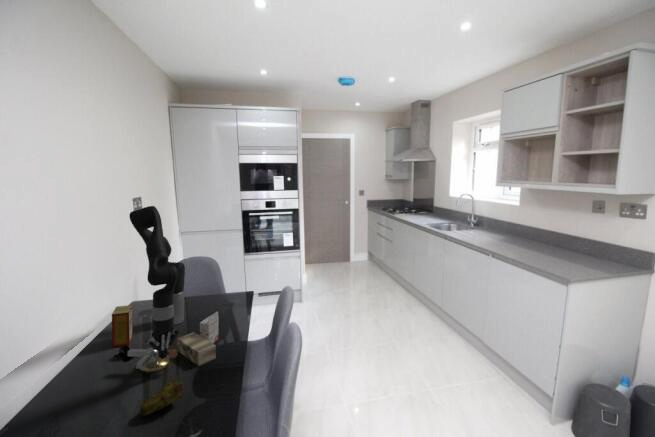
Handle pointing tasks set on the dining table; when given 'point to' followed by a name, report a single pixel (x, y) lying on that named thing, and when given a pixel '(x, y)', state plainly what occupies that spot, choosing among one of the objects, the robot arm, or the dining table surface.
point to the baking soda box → (122, 326)
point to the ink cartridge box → (210, 328)
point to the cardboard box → (196, 348)
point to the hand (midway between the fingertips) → (163, 357)
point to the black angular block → (124, 354)
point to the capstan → (152, 359)
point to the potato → (162, 397)
